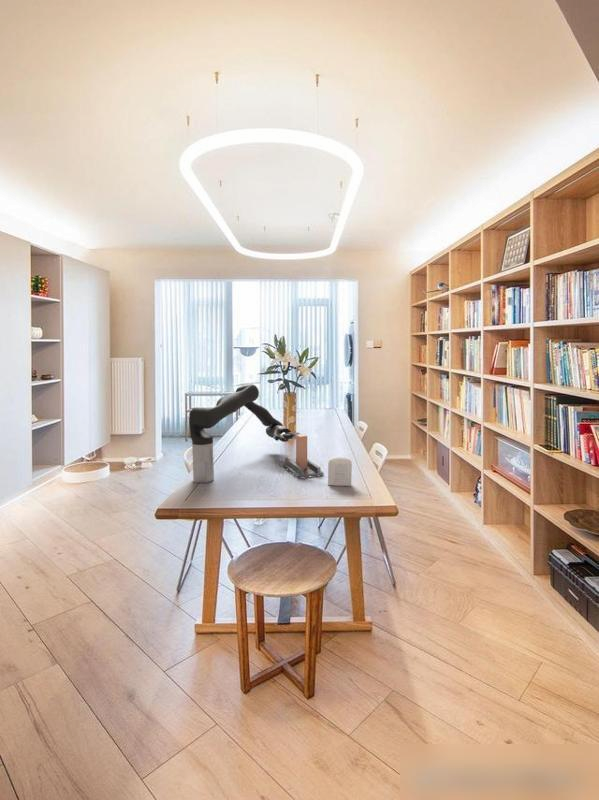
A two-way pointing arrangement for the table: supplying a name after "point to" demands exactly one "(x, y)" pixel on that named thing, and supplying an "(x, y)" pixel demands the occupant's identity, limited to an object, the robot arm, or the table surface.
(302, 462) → the panel block
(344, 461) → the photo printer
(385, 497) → the table surface
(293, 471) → the track
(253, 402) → the robot arm
